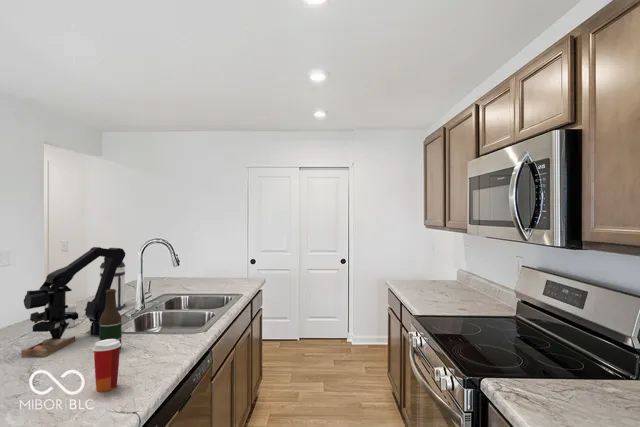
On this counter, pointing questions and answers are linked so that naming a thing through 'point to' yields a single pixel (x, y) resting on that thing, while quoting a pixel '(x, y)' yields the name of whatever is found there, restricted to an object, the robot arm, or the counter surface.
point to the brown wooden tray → (45, 352)
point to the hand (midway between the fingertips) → (56, 342)
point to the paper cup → (106, 364)
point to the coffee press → (117, 283)
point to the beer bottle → (110, 319)
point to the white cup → (70, 309)
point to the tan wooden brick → (51, 343)
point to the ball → (39, 347)
